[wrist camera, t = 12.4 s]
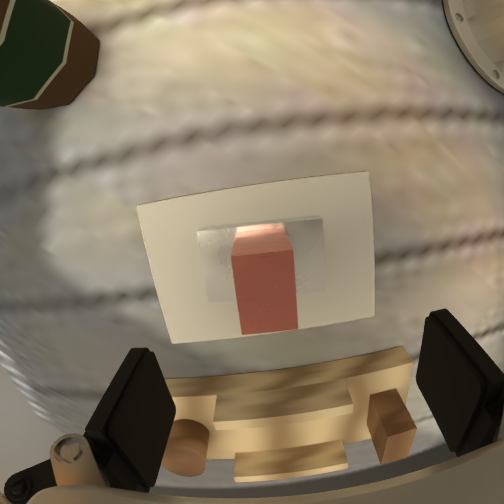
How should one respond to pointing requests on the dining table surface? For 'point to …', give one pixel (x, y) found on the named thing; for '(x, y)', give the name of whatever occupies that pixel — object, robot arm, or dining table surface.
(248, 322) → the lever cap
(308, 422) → the body
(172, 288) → the mat
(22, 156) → the dining table surface
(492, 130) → the dining table surface
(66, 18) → the beer bottle
